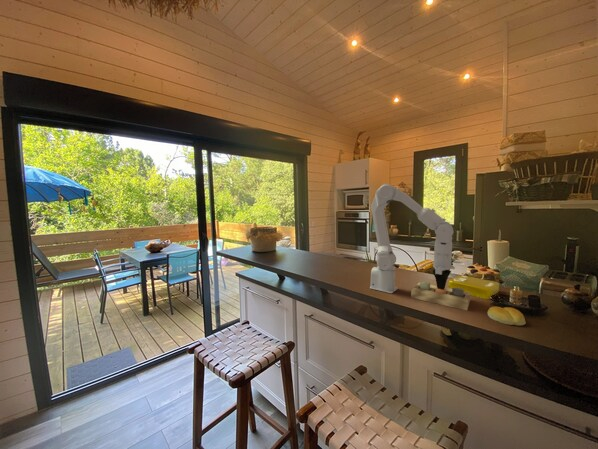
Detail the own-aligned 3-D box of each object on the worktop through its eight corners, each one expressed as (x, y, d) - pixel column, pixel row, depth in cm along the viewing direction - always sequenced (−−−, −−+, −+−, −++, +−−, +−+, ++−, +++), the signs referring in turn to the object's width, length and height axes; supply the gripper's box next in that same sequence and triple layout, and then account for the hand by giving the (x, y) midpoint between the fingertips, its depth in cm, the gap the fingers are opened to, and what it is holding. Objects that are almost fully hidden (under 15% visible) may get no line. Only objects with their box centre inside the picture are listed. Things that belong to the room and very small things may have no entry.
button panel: (411, 297, 94) (411, 290, 94) (418, 289, 103) (419, 282, 103) (467, 310, 83) (467, 301, 83) (470, 300, 92) (470, 292, 92)
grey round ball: (451, 298, 89) (451, 289, 89) (452, 296, 92) (453, 287, 92) (462, 301, 87) (463, 291, 87) (463, 298, 90) (464, 289, 90)
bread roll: (482, 312, 82) (483, 301, 81) (515, 316, 79) (516, 304, 79) (494, 324, 74) (495, 311, 74) (531, 328, 71) (532, 315, 71)
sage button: (418, 291, 96) (419, 283, 96) (420, 289, 99) (421, 281, 99) (428, 294, 94) (429, 285, 94) (430, 291, 97) (431, 283, 97)
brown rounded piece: (434, 297, 93) (434, 288, 93) (435, 295, 96) (436, 286, 95) (444, 300, 91) (445, 291, 90) (446, 297, 93) (447, 288, 93)
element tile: (489, 301, 92) (490, 288, 92) (446, 290, 104) (447, 279, 104) (499, 292, 102) (500, 281, 102) (458, 283, 114) (459, 273, 113)
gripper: (452, 258, 84) (450, 296, 85) (457, 252, 95) (455, 286, 96) (429, 255, 88) (427, 292, 89) (437, 250, 99) (435, 282, 100)
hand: (440, 288), depth 93 cm, fingers closed, pressing on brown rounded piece
